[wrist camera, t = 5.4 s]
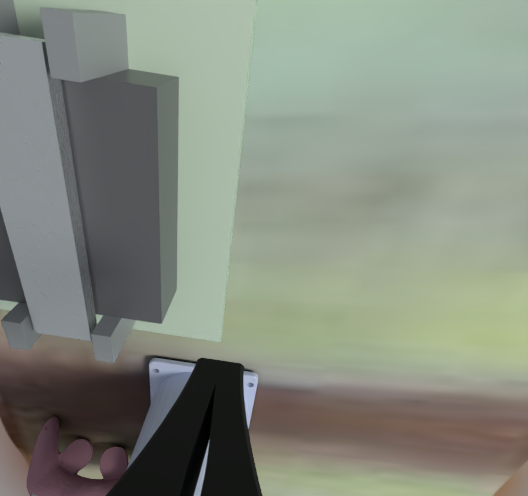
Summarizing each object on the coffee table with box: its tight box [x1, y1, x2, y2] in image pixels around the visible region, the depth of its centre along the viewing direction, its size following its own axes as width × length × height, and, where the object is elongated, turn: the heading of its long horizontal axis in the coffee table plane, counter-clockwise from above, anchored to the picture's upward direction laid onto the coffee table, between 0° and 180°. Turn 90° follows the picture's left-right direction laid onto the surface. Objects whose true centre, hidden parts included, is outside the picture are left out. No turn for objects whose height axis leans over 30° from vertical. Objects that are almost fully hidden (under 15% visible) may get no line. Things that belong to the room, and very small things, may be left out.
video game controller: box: [27, 416, 129, 496], centre depth 31 cm, size 10×5×7 cm, turn 75°
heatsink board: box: [0, 0, 257, 363], centre depth 17 cm, size 20×16×5 cm
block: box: [0, 32, 97, 341], centre depth 16 cm, size 14×3×1 cm, turn 172°
